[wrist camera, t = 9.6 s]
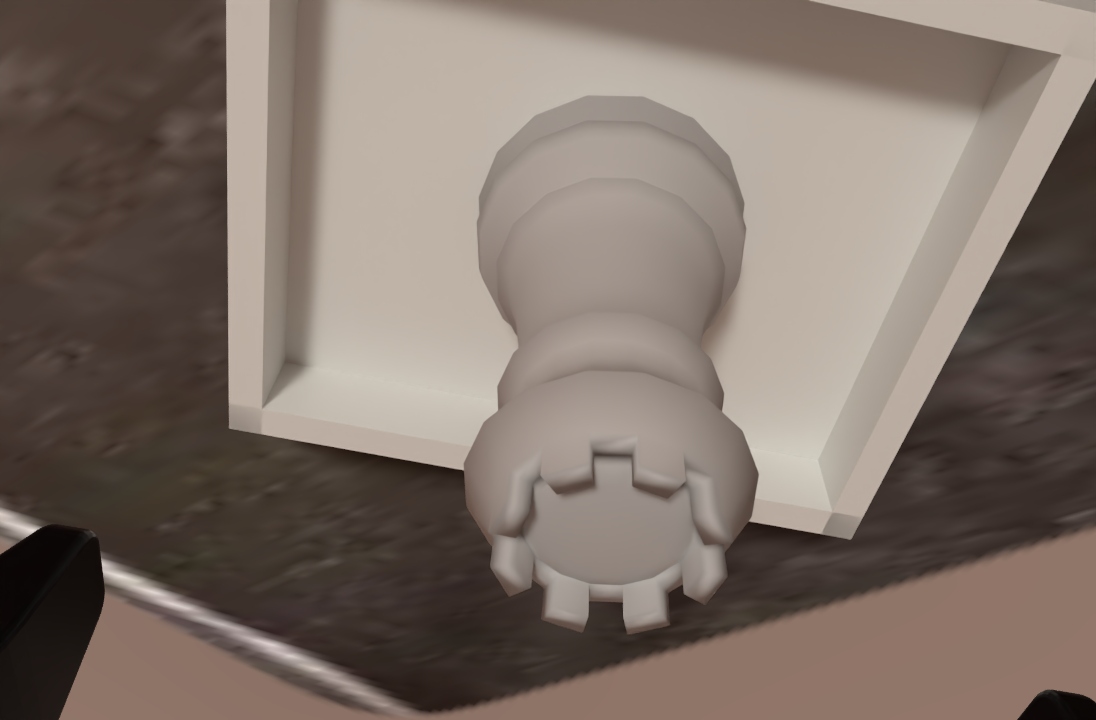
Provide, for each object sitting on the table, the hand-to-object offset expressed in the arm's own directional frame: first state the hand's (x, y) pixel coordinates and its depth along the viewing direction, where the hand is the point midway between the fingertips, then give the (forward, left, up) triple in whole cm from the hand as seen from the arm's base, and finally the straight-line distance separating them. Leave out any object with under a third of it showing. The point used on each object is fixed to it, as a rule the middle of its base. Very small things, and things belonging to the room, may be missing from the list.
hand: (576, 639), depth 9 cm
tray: (0, 0, -10) cm, 10 cm away
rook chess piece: (0, 0, -9) cm, 9 cm away
